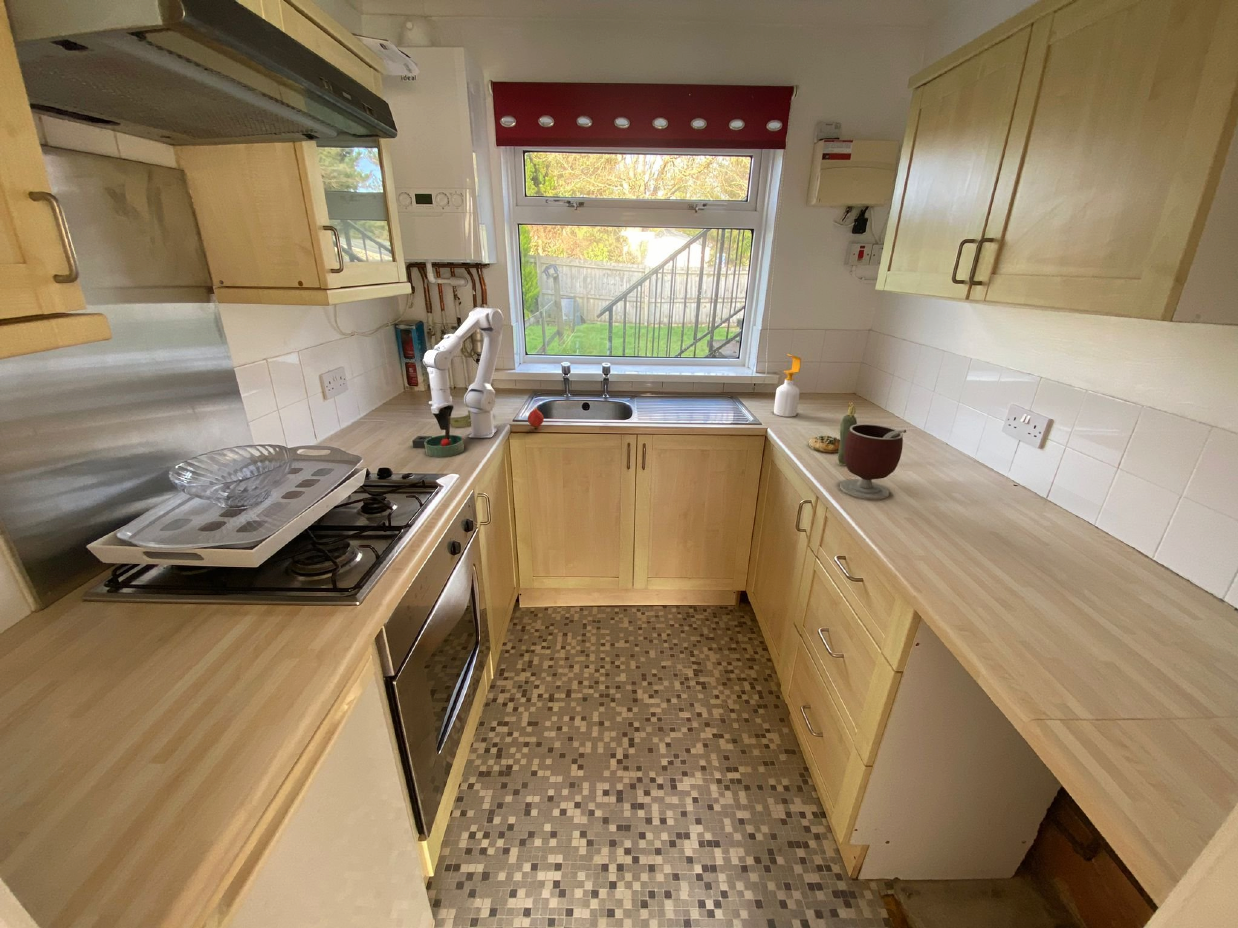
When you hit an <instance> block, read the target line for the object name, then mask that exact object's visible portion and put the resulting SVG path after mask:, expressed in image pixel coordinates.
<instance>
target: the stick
mask: <svg viewBox="0 0 1238 928" xmlns="http://www.w3.org/2000/svg"><path fill="white" fill-rule="evenodd" d="M450 432H451V424H450V416H448V429H447V430H444V435H445V439H448V440H449V436H450V435H451V434H450Z"/></svg>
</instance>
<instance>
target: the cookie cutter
mask: <svg viewBox="0 0 1238 928" xmlns="http://www.w3.org/2000/svg"><path fill="white" fill-rule="evenodd" d="M450 425H451V427H453V428H467V427H471V417H470V411H469V410H468V409H467V415H463V416H455V417H452V416H451V419H450Z"/></svg>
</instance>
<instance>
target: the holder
mask: <svg viewBox="0 0 1238 928" xmlns="http://www.w3.org/2000/svg"><path fill="white" fill-rule="evenodd" d="M431 437H433V435H416V437H415V438H414V439H412V441H411V443H412V448H413V449H425V444H424V442H425V441H426V440H427V439H429V438H431Z"/></svg>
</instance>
